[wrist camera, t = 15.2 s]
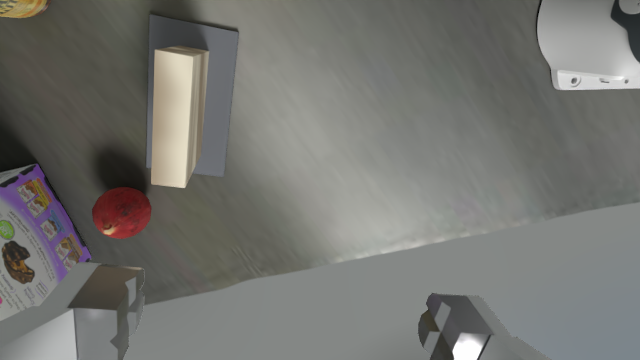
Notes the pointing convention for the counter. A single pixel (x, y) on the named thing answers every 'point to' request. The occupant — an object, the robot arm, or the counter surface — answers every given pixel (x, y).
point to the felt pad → (217, 87)
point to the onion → (121, 212)
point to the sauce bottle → (22, 8)
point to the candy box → (33, 240)
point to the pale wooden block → (178, 113)
